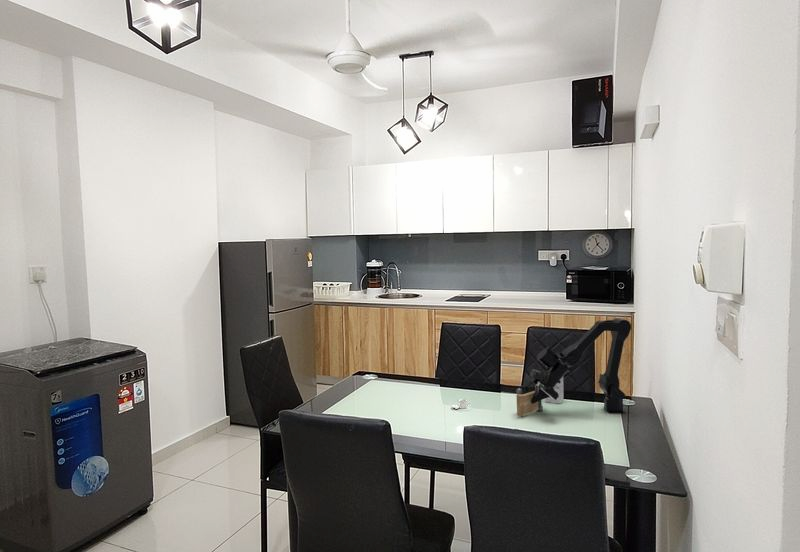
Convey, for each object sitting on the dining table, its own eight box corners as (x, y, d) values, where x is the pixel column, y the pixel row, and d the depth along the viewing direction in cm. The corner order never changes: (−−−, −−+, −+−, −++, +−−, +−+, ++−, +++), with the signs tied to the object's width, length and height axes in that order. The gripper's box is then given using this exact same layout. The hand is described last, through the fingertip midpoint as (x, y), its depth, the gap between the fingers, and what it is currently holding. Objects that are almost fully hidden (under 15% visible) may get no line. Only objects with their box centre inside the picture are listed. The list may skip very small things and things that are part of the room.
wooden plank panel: (542, 408, 216) (542, 389, 215) (520, 416, 207) (520, 396, 207) (539, 407, 217) (538, 388, 217) (517, 415, 209) (516, 395, 208)
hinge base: (541, 409, 217) (541, 405, 217) (543, 411, 215) (543, 407, 215) (535, 409, 217) (535, 405, 217) (537, 411, 215) (537, 407, 214)
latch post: (522, 413, 213) (521, 387, 213) (523, 415, 211) (522, 388, 210) (516, 413, 213) (515, 387, 213) (517, 415, 211) (517, 389, 210)
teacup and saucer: (449, 410, 222) (449, 401, 222) (456, 405, 230) (455, 396, 229) (468, 412, 218) (468, 403, 218) (474, 407, 225) (474, 398, 225)
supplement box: (544, 402, 227) (543, 375, 226) (547, 397, 234) (547, 371, 233) (561, 404, 224) (560, 376, 223) (564, 399, 230) (563, 372, 230)
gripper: (533, 357, 219) (511, 385, 219) (548, 367, 200) (523, 397, 200) (552, 373, 220) (530, 400, 220) (569, 384, 201) (544, 414, 201)
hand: (531, 402), depth 210 cm, fingers closed
